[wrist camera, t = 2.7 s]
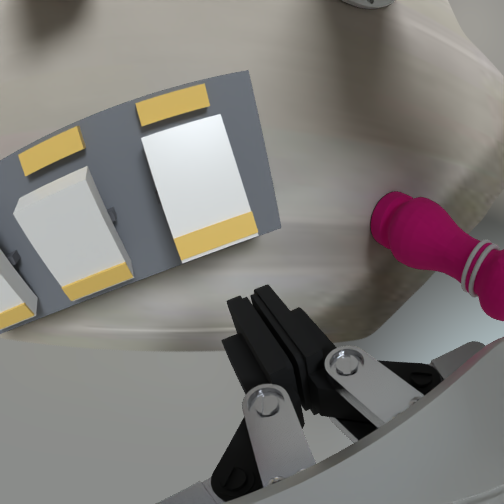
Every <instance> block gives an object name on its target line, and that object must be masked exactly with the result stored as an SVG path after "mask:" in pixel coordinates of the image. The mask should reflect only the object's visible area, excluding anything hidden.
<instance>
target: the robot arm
mask: <svg viewBox="0 0 504 504" xmlns="http://www.w3.org/2000/svg"><path fill="white" fill-rule="evenodd" d="M342 1H344V2H346V3H348V4H350V5H353V6H356V7H360V8H366V9H376V8H380V7H385V6H388V5H390V4H392V3H393V2H394V1H395V0H342ZM254 293H255V294H253V295H251V300H252V304H253V305H252V304H251V302H250V301H249V299H248V298H247V297H245V298H243V299H242V297H241V296H238V297H235V298H233V299H230V300H228V301H227V305H228V308H229V311H230V313H231V316H232V319H233V322H234V325H235V328H236V331H237V334H236V335H233V336H231V337H228V338H226V339H223V340H222V343H223V345H224V348H225V350H226V353H227V355H228V358H229V360H230V362H231V365H232V367H233V368H234V371H235V373H236V375H237V377H238V379H239V382H240V383H241V386H242V388H243V390H244V392H245V394H246V395H245V397H244V399H243V402H242V409H243V413H244V418H243V420H242V422H241V424H240V426H239V428H238V429H237V431H236V433H235V435H234V437H233V438H232V440H231V442H230V444H229V446H228V447H227V449H226V451H225V453H224V455H223V457H222V458H221V460H220V462H219V463H218V465H217V467H216V469H215V470H214V472H213V474H212V477H211V478H209V479H207V480H205V481H204V482H200V481H199V482H197V483H195V484H193V485H191V486H190V487H188V488H186V489H184V490H182V491H180V492H178V493H176V494H174V495H172V496H170V497H168V498H166V499H164V500H162V501H160V502H158V503H156V504H504V337H502V338H500V339H497V340H495V341H493V342H492V343H490V344H488V345H486V346H485V345H484V344H482V343H480V342H475V341H472V342H469V343H466V344H465V345H462V346H460V347H459V348H456V349H454V350H453V351H450V352H448V353H446V354H444V355H442V356H440V357H438V358H436V359H433V360H432V361H431V363H430V364H422V363H406V362H389V361H378V360H376V359H374V358H373V357H371V356H370V355H369V354H368V353H366V352H365V351H364V350H362V349H360V348H358V347H355V346H342V347H338V348H336V347H335V345H334V344H333V343H332V342H331V341H330V340H329V339H328V338H327V336H326V335H325V334H324V333H323V332H322V331H321V330H320V329H319V328H318V326H317V325H316V324H315V323H314V322H313V321H312V320H311V319H310V317H309V316H308V315H307V314H306V313H305V312H304V311H303V310H302V309H301V308H296V309H294V310H292V311H290V310H289V309H288V308H287V306H286V305H285V304H284V303H283V302H282V300H281V299H280V298H279V297H278V296H277V294H276V293H275V292H274V291H273V290H272V288H271V287H270V286H269V285H265V286H262V287H260V288H257V289H255V290H254ZM301 405H302V407H303V408H304V410H305V411H307V410H309V409H310V410H311V411H312V413H313V414H314V415H316V414H318V413H319V414H320V415H321V416H327V417H329V418H330V420H331V421H332V422H333V423H334V424H335V425H336V426H337V427H338V428H339V429H340V430H341V431H342V432H343V433H344V434H345V435H346V436H347V437H348V438H349V439H350V440H351V441H352V442H353V443H354V444H352V445H350V446H349V447H347V448H345V449H343V450H342V451H340V452H338V453H336V454H334V455H332V456H331V457H329V458H327V459H325V460H323V461H321V462H319V463H317V464H316V462H315V460H314V458H313V455H312V452H311V450H310V448H309V445H308V443H307V440H306V438H305V435H304V432H303V430H302V429H303V426H304V424H305V423H304V418H303V413H302V408H301Z"/></svg>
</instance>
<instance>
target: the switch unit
mask: <svg viewBox="0 0 504 504" xmlns="http://www.w3.org/2000/svg"><path fill="white" fill-rule="evenodd" d="M218 114H221V117H222V120H223V123H224V127H225V130H226V133H227V136H228V139H229V142H230V145H231V149H232V152H233V155H234V158H235V161H236V164H237V168H238V171H239V174H240V177H241V180H242V183H243V187H244V190H245V193H246V196H247V199H248V203H249V206H250V209H251V211H252V213H253V216H254V220H255V223H256V226H257V229H258V235H259V236H260V235H263V234H266V233H269V232H271V231H274V230H277V229H280V228H281V223H280V218H279V213H278V208H277V202H276V197H275V192H274V187H273V182H272V177H271V172H270V167H269V162H268V158H267V153H266V148H265V143H264V139H263V134H262V129H261V125H260V120H259V115H258V111H257V106H256V102H255V97H254V93H253V89H252V84H251V80H250V75H249V71H248V70H246V71H241V72H236V73H231V74H226V75H221V76H216V77H212V78H208V79H203V80H199V81H195V82H191V83H187V84H184V85H180V86H176V87H173V88H169V89H166V90H162V91H159V92H156V93H152V94H149V95H146V96H143V97H140V98H137V99H134V100H131V101H128V102H125V103H122V104H120V105H117V106H114V107H112V108H109V109H106V110H104V111H101V112H99V113H96V114H94V115H91V116H89V117H86V118H84V119H82V120H79V121H77V122H75V123H72V124H70V125H68V126H66V127H63V128H61V129H59V130H57V131H55V132H53V133H51V134H49V135H47V136H45V137H43V138H41V139H39V140H37V141H35V142H33V143H31V144H29V145H27V146H25V147H23V148H21V149H20V150H18V151H16V152H14V153H12V154H11V155H9V156H7V157H6V158H4V159H2V160H0V249H1V251H2V252H3V253H4V255H5V256H6V258H7V259H8V260H9V262H10V263H11V265H12V266H13V267H14V269H15V270H16V271H17V273H18V274H19V275H20V276H21V278H22V279H23V280H24V282H25V283H26V284H27V285H28V287H29V288H30V289H31V290H32V292H33V293H34V294H35V295H36V296H37V298H38V300H37V310H36V316H34V317H32V318H29V319H27V320H24V321H22V322H19V323H17V324H14V325H12V326H9V327H7V328H4V329H2V330H0V334H1V333H4V332H6V331H9V330H11V329H14V328H16V327H19V326H21V325H24V324H27V323H29V322H32V321H34V320H37V319H39V318H42V317H44V316H47V315H50V314H52V313H55V312H57V311H60V310H62V309H65V308H68V307H70V306H73V305H75V304H78V303H81V302H83V301H86V300H88V299H91V298H94V297H96V296H99V295H101V294H104V293H107V292H109V291H112V290H115V289H117V288H120V287H123V286H125V285H128V284H130V283H133V282H136V281H138V280H141V279H144V278H146V277H149V276H152V275H154V274H157V273H160V272H162V271H165V270H168V269H170V268H173V267H176V266H179V265H181V264H184V263H182V261H181V258H180V256H179V253H178V250H177V247H176V244H175V242H174V239H173V236H172V233H171V230H170V227H169V224H168V222H167V219H166V216H165V213H164V210H163V207H162V204H161V201H160V198H159V195H158V192H157V188H156V185H155V182H154V179H153V176H152V173H151V169H150V166H149V163H148V160H147V156H146V153H145V150H144V146H143V143H142V140H141V138H143V137H145V136H148V135H151V134H154V133H157V132H160V131H163V130H166V129H170V128H173V127H176V126H179V125H183V124H186V123H189V122H193V121H196V120H200V119H203V118H207V117H211V116H214V115H218ZM86 166H88V168H89V171H90V173H91V176H92V178H93V180H94V183H95V185H96V187H97V190H98V192H99V194H100V196H101V199H102V201H103V203H104V205H105V208H106V210H107V212H108V214H109V216H110V218H111V220H112V223H113V225H114V227H115V229H116V231H117V233H118V235H119V237H120V239H121V241H122V243H123V245H124V247H125V249H126V251H127V253H128V255H129V257H130V259H131V262H132V268H133V274H134V278H132V279H130V280H127V281H124V282H122V283H119V284H117V285H114V286H111V287H109V288H106V289H104V290H101V291H98V292H96V293H93V294H91V295H88V296H85V297H83V298H80V299H78V300H75V301H71V300H70V299H69V298H68V296H67V295H66V294H65V293H64V291H63V290H62V287H61V285H60V284H59V283H58V281H57V280H56V279H55V277H54V276H53V274H52V273H51V272H50V270H49V269H48V267H47V266H46V265H45V263H44V262H43V260H42V259H41V257H40V256H39V254H38V253H37V251H36V250H35V248H34V247H33V245H32V244H31V242H30V241H29V239H28V238H27V236H26V234H25V233H24V231H23V230H22V228H21V226H20V225H19V223H18V221H17V220H16V218H15V216H14V215H13V213H14V210H15V208H16V205H17V203H18V201H19V198H21V197H23V196H25V195H26V194H28V193H30V192H32V191H34V190H36V189H38V188H40V187H42V186H44V185H46V184H48V183H51V182H53V181H55V180H57V179H59V178H61V177H63V176H66V175H68V174H70V173H72V172H74V171H77V170H79V169H81V168H84V167H86ZM256 237H258V236H256ZM253 238H255V237H253ZM250 239H252V238H250ZM248 240H249V239H248ZM245 241H247V240H245ZM242 242H244V241H242ZM239 243H241V242H239ZM237 244H238V243H237ZM234 245H236V244H234ZM231 246H233V245H231ZM228 247H230V246H228ZM226 248H227V247H226ZM223 249H225V248H223ZM220 250H222V249H220ZM218 251H219V250H218ZM215 252H216V251H215ZM212 253H214V252H212ZM209 254H211V253H209ZM207 255H208V254H207ZM204 256H206V255H204ZM201 257H203V256H201ZM199 258H200V257H199ZM196 259H197V258H196ZM193 260H195V259H193ZM190 261H192V260H190ZM188 262H189V261H188ZM185 263H187V262H185Z"/></svg>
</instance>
